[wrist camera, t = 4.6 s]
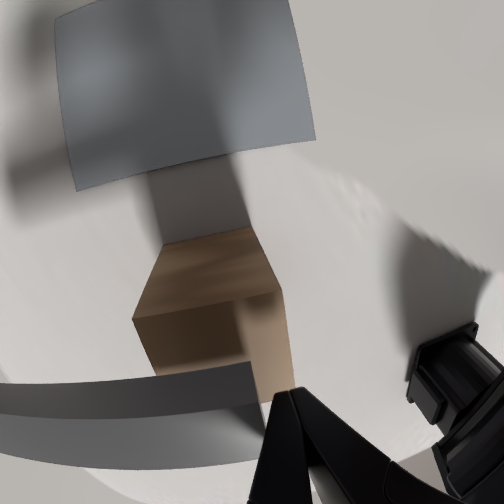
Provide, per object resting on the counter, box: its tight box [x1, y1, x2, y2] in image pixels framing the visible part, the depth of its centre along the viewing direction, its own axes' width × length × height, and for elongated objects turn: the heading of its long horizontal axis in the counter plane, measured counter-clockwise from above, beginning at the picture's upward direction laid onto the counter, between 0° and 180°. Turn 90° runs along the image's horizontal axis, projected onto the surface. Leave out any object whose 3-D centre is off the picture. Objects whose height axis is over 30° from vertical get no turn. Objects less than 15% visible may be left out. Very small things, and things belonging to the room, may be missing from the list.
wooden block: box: [132, 227, 295, 403], centre depth 13 cm, size 4×4×7 cm
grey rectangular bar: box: [0, 361, 266, 470], centre depth 7 cm, size 11×2×2 cm, turn 100°
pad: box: [55, 0, 316, 192], centre depth 12 cm, size 12×10×1 cm
